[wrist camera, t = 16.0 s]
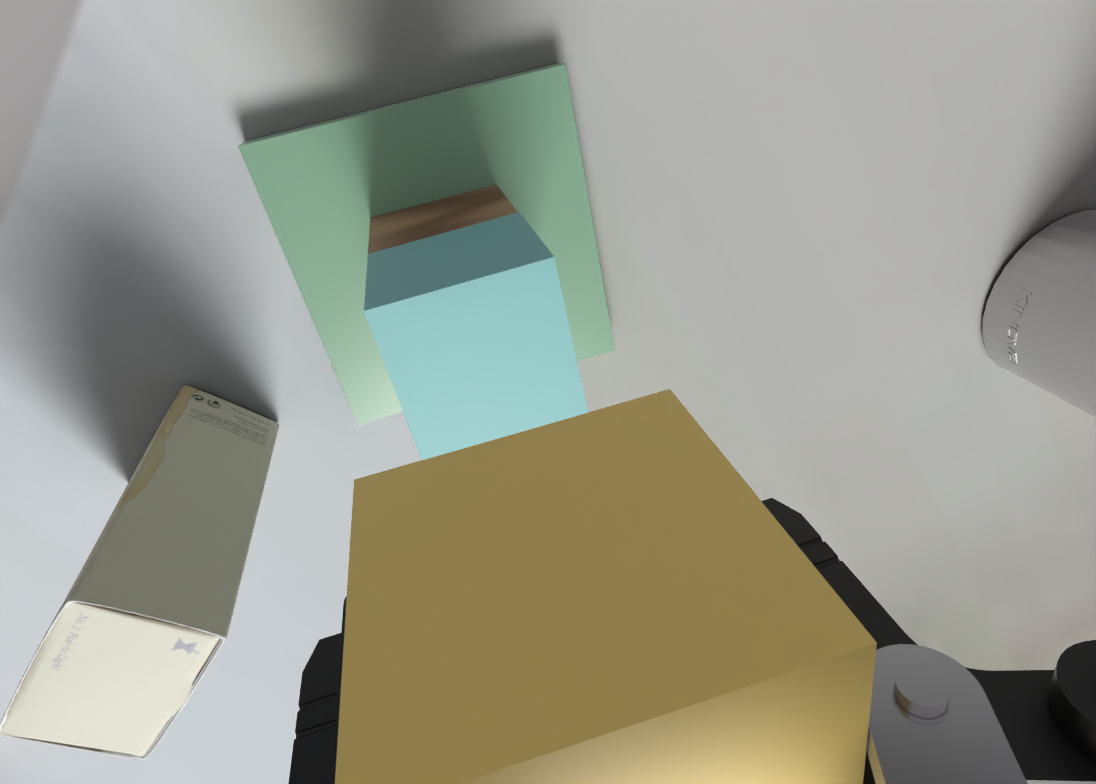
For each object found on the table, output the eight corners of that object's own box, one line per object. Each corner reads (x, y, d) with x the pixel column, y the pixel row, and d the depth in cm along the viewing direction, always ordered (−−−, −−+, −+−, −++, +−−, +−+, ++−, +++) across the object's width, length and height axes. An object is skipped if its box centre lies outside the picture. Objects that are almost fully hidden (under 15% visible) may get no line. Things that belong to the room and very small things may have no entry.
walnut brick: (496, 184, 25) (519, 214, 21) (524, 301, 28) (550, 349, 24) (370, 217, 25) (367, 255, 21) (410, 333, 28) (415, 388, 23)
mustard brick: (670, 388, 10) (875, 642, 6) (693, 606, 13) (852, 894, 8) (354, 479, 10) (331, 826, 5) (443, 686, 12) (476, 1035, 8)
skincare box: (184, 379, 28) (63, 588, 17) (286, 423, 30) (233, 634, 19) (125, 488, 29) (-17, 738, 19) (224, 523, 31) (145, 767, 21)
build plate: (557, 63, 25) (565, 64, 24) (607, 339, 31) (614, 350, 30) (244, 141, 24) (238, 146, 23) (358, 411, 30) (357, 425, 29)
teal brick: (519, 211, 21) (554, 256, 17) (551, 347, 24) (588, 416, 19) (368, 254, 21) (363, 311, 16) (417, 387, 23) (424, 466, 19)
